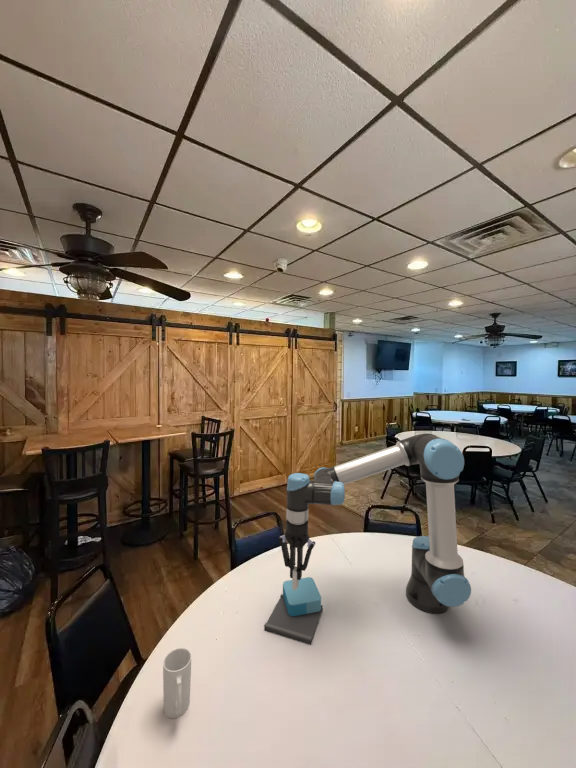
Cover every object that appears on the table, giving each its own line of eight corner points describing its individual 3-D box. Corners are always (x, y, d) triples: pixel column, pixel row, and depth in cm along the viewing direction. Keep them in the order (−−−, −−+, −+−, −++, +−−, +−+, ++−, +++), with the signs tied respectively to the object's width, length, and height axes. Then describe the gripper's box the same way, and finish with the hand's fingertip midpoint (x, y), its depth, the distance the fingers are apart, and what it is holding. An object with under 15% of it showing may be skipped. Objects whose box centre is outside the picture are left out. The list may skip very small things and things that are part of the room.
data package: (322, 611, 112) (312, 587, 124) (322, 599, 112) (312, 576, 124) (289, 617, 110) (282, 592, 121) (289, 605, 109) (281, 581, 121)
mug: (162, 697, 83) (162, 652, 83) (189, 688, 86) (189, 644, 85) (163, 738, 74) (164, 687, 73) (193, 726, 76) (194, 677, 76)
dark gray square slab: (322, 610, 115) (322, 605, 115) (311, 645, 100) (311, 639, 100) (281, 598, 121) (281, 594, 121) (264, 630, 106) (264, 625, 106)
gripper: (318, 518, 111) (316, 585, 111) (283, 512, 115) (281, 576, 116) (312, 528, 104) (310, 599, 104) (275, 521, 108) (273, 589, 109)
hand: (295, 587), depth 110 cm, fingers closed
